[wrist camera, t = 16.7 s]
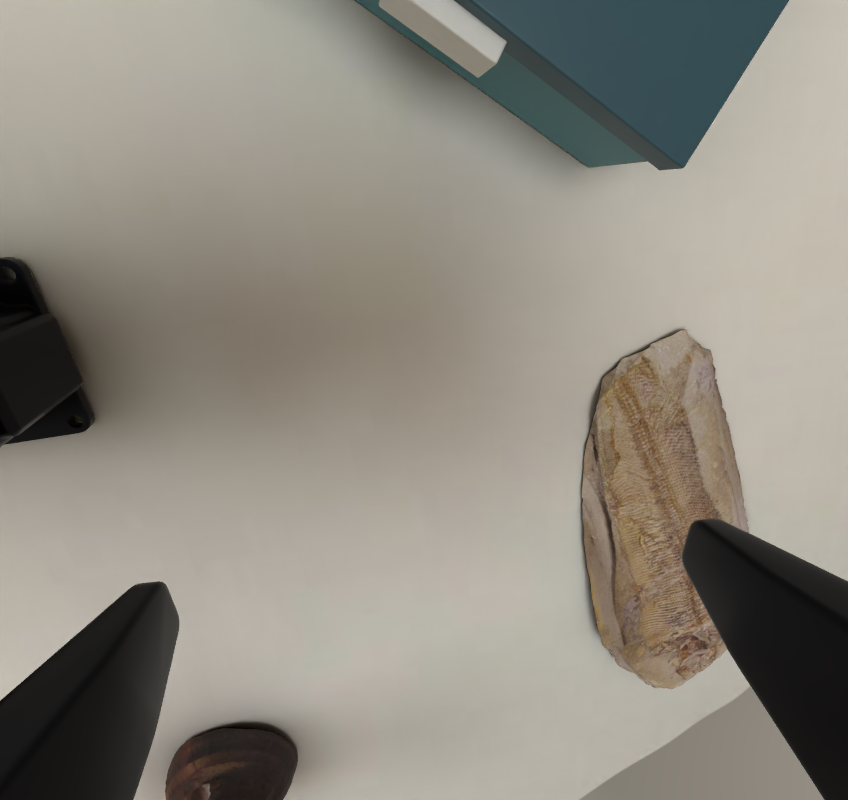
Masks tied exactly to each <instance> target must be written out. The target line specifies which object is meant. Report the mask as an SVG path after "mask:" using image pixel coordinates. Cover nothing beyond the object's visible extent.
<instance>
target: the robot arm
mask: <svg viewBox="0 0 848 800" xmlns="http://www.w3.org/2000/svg"><path fill="white" fill-rule="evenodd" d="M6 267H9V268H11V269H12V270H13V271H14V272H15V274H16V278H15V280H13V279H11V278H9V277H8V276H7V274H6V272H5V268H6ZM82 382H83V380H82V377H81V375H80V373H79V370H78V368H77V366H76V364H75V361H74V359H73V357H72V354H71V352H70V350H69V348H68V345H67V343H66V341H65V338H64V336H63V334H62V332H61V329H60V327H59V325H58V322H57V320H56V319H55V318H53V317H52V316H51V315H50V314H49V312H48V310H47V307H46V305H45V303H44V301H43V298H42V296H41V294H40V292H39V289H38V287H37V285H36V282H35V280H34V278H33V276H32V273H31V271H30V270H29V268H28V267H27V265H26V264H25V263H23V262H22V261H21V260H18V259H16V258H11V257H5V258H0V447H1V446H3V445H4V444H11V443H17V442H23V441H30V440H36V439H43V438H49V437H56V436H62V435H69V434H75V433H81V432H84V431H86V430H87V429H88V428H89V427H90V426H91V425H92V424H93V423H94V420H95V418H94V414H93V412H92V409H91V407H90V405H89V403H88V400H87V398H86V396H85V393H84V391H83V389H82V387H81V384H82ZM73 415H76V416H78V417H80V418H81V419H82V422H83V423H81V422H77V421H75V420H74V419H73ZM682 563H683V566H684V568H685V571H686V572H687V574H688V576H689V578H690V580H691V582H692V584H693V586H694V588H695V589H696V591H697V593H698V595H699V597H700V599H701V601H702V603H703V605H704V606H705V608H706V610H707V612H708V614H709V616H710V618H711V620H712V622H713V623H714V625H715V627H716V629H717V631H718V633H719V635H720V637H721V638H722V640H723V642H724V644H725V646H726V647H727V649H728V651H729V652H730V654H731V656H732V657H733V659H734V661H735V662H736V664H737V665H738V667H739V669H740V670H741V672H742V673H743V675H744V676H745V678H746V679H747V681H748V682H749V684H750V686H751V687H752V689H753V690H754V692H755V693H756V695H757V696H758V698H759V699H760V701H761V702H762V704H763V706H764V707H765V709H766V710H767V712H768V713H769V715H770V716H771V718H772V719H773V721H774V723H775V724H776V726H777V727H778V729H779V730H780V732H781V733H782V735H783V736H784V738H785V739H786V741H787V743H788V744H789V746H790V747H791V749H792V750H793V752H794V753H795V755H796V756H797V758H798V760H799V761H800V762H801V764H802V766H803V767H804V769H805V770H806V772H807V773H808V775H809V776H810V778H811V779H812V781H813V783H814V784H815V786H816V787H817V789H818V790H819V792H820V793H821V795H822V796H823V798H824V799H825V800H848V581H846V580H844V579H842V578H840V577H838V576H835V575H833V574H831V573H829V572H827V571H825V570H823V569H821V568H819V567H817V566H815V565H813V564H811V563H809V562H807V561H805V560H803V559H801V558H798V557H796V556H794V555H792V554H790V553H788V552H786V551H784V550H782V549H780V548H778V547H776V546H774V545H772V544H770V543H768V542H766V541H764V540H762V539H759V538H757V537H755V536H753V535H751V534H749V533H747V532H745V531H743V530H741V529H739V528H737V527H735V526H733V525H731V524H729V523H727V522H725V521H722V520H720V519H716V518H711V519H702V520H696V521H694V522H693V523H692V524H691V525H690V528H689V531H688V534H687V538H686V541H685V544H684V548H683V551H682ZM178 631H179V616H178V613H177V610H176V608H175V605H174V603H173V600H172V598H171V595H170V593H169V590H168V588H167V586H166V584H164V583H163V582H159V581H158V582H150V583H141V584H137V585H134V586H133V587H131V588H130V589H129V590H127V591H126V592H125V593H124V594H123V595H122V596H121V597H119V598H118V599H117V600H116V601H115V602H114V603H112V604H111V605H110V606H109V607H108V608H107V609H106V610H104V611H103V612H102V613H101V614H100V615H99V616H98V617H96V618H95V619H94V620H93V621H92V622H91V623H89V624H88V625H87V626H86V627H85V628H84V629H83V630H81V631H80V632H79V633H78V634H77V635H76V636H74V637H73V638H72V639H71V640H70V641H69V642H68V643H66V644H65V645H64V646H63V647H62V648H61V649H59V650H58V651H57V652H56V653H55V654H54V655H53V656H51V657H50V658H49V659H48V660H47V661H46V662H44V663H43V664H42V665H41V666H40V667H39V668H38V669H36V670H35V671H34V672H33V673H32V674H31V675H30V676H28V677H27V678H26V679H25V680H24V681H23V682H21V683H20V684H19V685H18V686H17V687H16V688H15V689H13V690H12V691H11V692H10V693H9V694H8V695H6V696H5V697H4V698H3V699H2V700H1V701H0V800H133V799H134V796H135V793H136V790H137V787H138V784H139V781H140V778H141V775H142V772H143V769H144V766H145V763H146V760H147V757H148V754H149V751H150V748H151V745H152V741H153V738H154V735H155V731H156V727H157V723H158V719H159V715H160V711H161V706H162V702H163V697H164V693H165V689H166V684H167V680H168V675H169V671H170V667H171V662H172V658H173V653H174V649H175V645H176V640H177V636H178Z"/></svg>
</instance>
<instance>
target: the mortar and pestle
mask: <svg viewBox="0 0 848 800" xmlns="http://www.w3.org/2000/svg"><path fill="white" fill-rule="evenodd" d="M297 761H298V756H297V751H296V749H295V748H294V746H293V745H292V744H291V743H290V742H289V741H288V740H287V739H286V738H285V737H283V736H281V735H280V734H276V733H273V732H269V731H264V730H259V729H229V728H222V729H217V730H213V731H210V732H206V733H205V734H203V735H201V736H197V737H194V738H192V739H190V740H189V741H188V742H186V743H185V744H184V745H183V746H182V747H181V748H180V749H179V751H178V752H177V753H176V754H175V756H174V758H173V760H172V762H171V765H170V767H169V770H168V774H167V780H166V790H165V792H166V800H283V799H284V797H285V795H286V794H287V792H288V790H289V787H290V785H291V782H292V779H293V776H294V773H295V770H296V766H297Z"/></svg>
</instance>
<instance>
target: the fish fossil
mask: <svg viewBox="0 0 848 800" xmlns="http://www.w3.org/2000/svg"><path fill="white" fill-rule="evenodd" d="M716 381H717V380H716V379H715V368H714V365H713V359H712V354H711V351H710V350H708V349H703V348H702V347H701V346H700V345H699V344H698V343H697V342H696V341H694V340H693V339H691V338H690V337H689V335H688V332H687V330H681V331H679V332H677V333H675V334H674V335H672V336H669V337H667V338H664V339H662V340H661V341H658V342H655V343H652V344H650V347H649V348H648V349H646V350H645V351H642V352H639V353H636V354H634V355H631V356H629V357H625V358H623V359H622V360H621V361H620V363H619V364H618V366H617V367H616V368H615V369H614V370H612V371H611V372H609V373H608V374H607V375H605V377H604V378H603V379H602V385H601V390H600V395H599V402H598V404H597V406H596V408H597V411H596V413H595V415H594V418H593V422H592V428H591V429H590V434H589V437H588V440H587V444H586V450H585V454H584V472H583V484H582V498H583V499H584V500H583V502H582V507H583V512H582V514H583V524H584V546H585V554H586V558H587V569H588V573H589V577H590V583H591V595H592V601H593V609H594V612H595V615H596V619H597V622H598V623H597V624H596V625H597V628H598V631H599V634H600V637H601V642H602V645H603V646H604V647H605V648H606V649H609V650H610V651H611V653H610V654H612V655H613V656H614V657H615V661H616V663H617V664H618V665H619V666H620V667H622V668H624V669H626V670H628V671H630V672H632V673H635V674H636V675H637V676H638V677H639V678H640V679H641V680H643V681H644V682H645V683H646V684H648V685H651V686H652V687H655V688H668V689H674V688H675V687H677V686H680V685H682V684H683V683H685V682H686V681H687V680H689V679H690V678H692V677H693V676H694V675H695V674H697V673H698V672H700V671H703V670H704V669H705V668H707V667H708V666H709V665H710V664H711V663H712V662H713V661H714V660H716V659H717V658H719V657H720V656H721V655H722V654H723V653H724V652H725V651H726V649H727V647H726V646H725V644H724V642H723V640H722V638H721V637H720V635H719V633H718V631H717V629H716V627H715V625H714V623H713V622H712V620H711V618H710V616H709V614H708V612H707V610H706V608H705V606H704V605H703V603H702V601H701V599H700V597H699V595H698V593H697V591H696V589H695V588H694V586H693V584H692V582H691V580H690V578H689V576H688V574H687V572H686V571H685V568H684V566H683V563H682V551H683V548H684V544H685V541H686V538H687V534H688V531H689V528H690V525H691V524H692V523H693V522H694V521H696V520H702V519H711V518H716V519H720V520H722V521H725V522H727V523H729V524H731V525H733V526H735V527H737V528H739V529H741V530H743V531H745V532H747V533H748V524H747V521H748V520H747V518H746V510H745V507H744V499H743V494H742V488H741V482H740V475H739V471H738V468H737V464H736V460H735V452H734V448H733V445H732V440H731V434H730V430H729V426H728V423H727V421H726V413H725V411H724V410H723V408H722V400H721V397H720V393H719V390H718V386H717V384H716Z"/></svg>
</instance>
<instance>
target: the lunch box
mask: <svg viewBox="0 0 848 800" xmlns="http://www.w3.org/2000/svg"><path fill="white" fill-rule="evenodd" d="M355 1H357V2H358V3H359V4H361V5H362V6H364V7H365V8H366V9H368V10H369V11H371V12H372V13H373V14H375V15H376V16H378V17H379V18H380V19H382V20H383V21H385V22H386V23H387V24H389V25H390V26H392V27H393V28H394V29H396V30H397V31H399V32H400V33H401V34H403V35H404V36H406V37H407V38H408V39H410V40H411V41H413V42H414V43H415V44H417V45H418V46H420V47H421V48H422V49H424V50H425V51H427V52H428V53H429V54H431V55H432V56H434V57H435V58H436V59H438V60H439V61H441V62H442V63H443V64H445V65H446V66H448V67H449V68H450V69H452V70H453V71H455V72H456V73H457V74H459V75H460V76H462V77H463V78H464V79H466V80H467V81H469V82H470V83H471V84H473V85H474V86H476V87H477V88H478V89H480V90H481V91H482V92H484V93H485V94H487V95H488V96H489V97H491V98H492V99H494V100H495V101H496V102H498V103H499V104H501V105H502V106H503V107H505V108H506V109H508V110H509V111H510V112H512V113H513V114H515V115H516V116H517V117H519V118H520V119H522V120H523V121H524V122H526V123H527V124H529V125H530V126H531V127H533V128H534V129H536V130H537V131H538V132H540V133H541V134H543V135H544V136H545V137H547V138H548V139H550V140H551V141H552V142H554V143H555V144H557V145H558V146H559V147H561V148H562V149H564V150H565V151H566V152H568V153H569V154H571V155H572V156H573V157H575V158H576V159H578V160H579V161H580V162H582V163H583V164H585V165H586V166H587V167H599V166H608V165H618V164H627V163H636V162H645V161H648V162H650V163H651V164H652V165H654V166H655V167H656V168H658V169H659V170H667V169H680V168H684V167H685V165H686V164H687V162H688V160H689V159H690V157H691V156H692V154H693V152H694V151H695V149H696V148H697V146H698V144H699V143H700V141H701V140H702V138H703V136H704V135H705V133H706V132H707V130H708V128H709V127H710V125H711V124H712V122H713V121H714V119H715V117H716V116H717V114H718V113H719V111H720V109H721V108H722V106H723V105H724V103H725V101H726V100H727V98H728V97H729V95H730V93H731V92H732V90H733V89H734V87H735V85H736V84H737V82H738V81H739V79H740V78H741V76H742V74H743V73H744V71H745V70H746V68H747V66H748V65H749V63H750V62H751V60H752V58H753V57H754V55H755V54H756V52H757V50H758V49H759V47H760V46H761V44H762V42H763V41H764V39H765V38H766V36H767V35H768V33H769V31H770V30H771V28H772V27H773V25H774V23H775V22H776V20H777V19H778V17H779V15H780V14H781V12H782V11H783V9H784V7H785V6H786V4H787V3H788V1H789V0H355Z"/></svg>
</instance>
